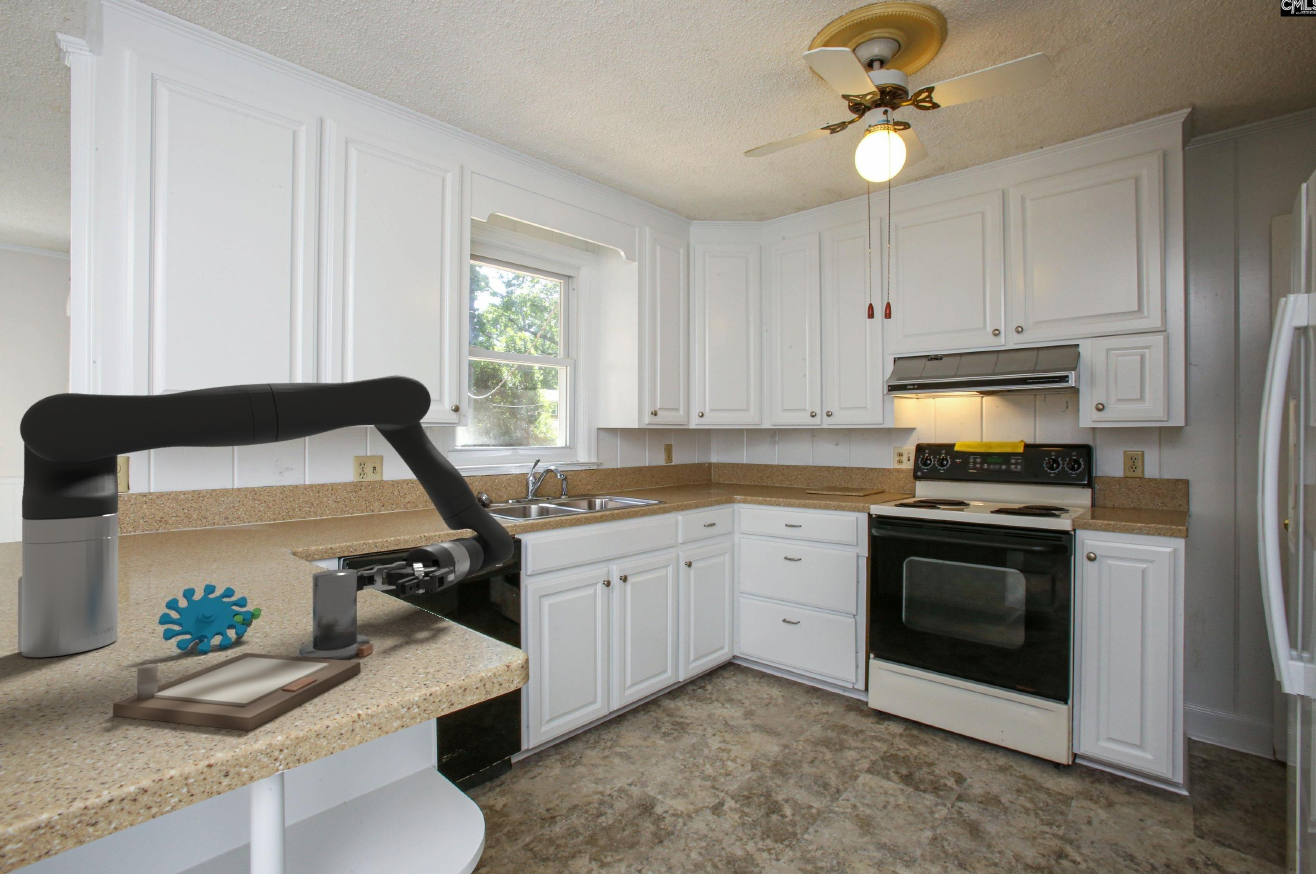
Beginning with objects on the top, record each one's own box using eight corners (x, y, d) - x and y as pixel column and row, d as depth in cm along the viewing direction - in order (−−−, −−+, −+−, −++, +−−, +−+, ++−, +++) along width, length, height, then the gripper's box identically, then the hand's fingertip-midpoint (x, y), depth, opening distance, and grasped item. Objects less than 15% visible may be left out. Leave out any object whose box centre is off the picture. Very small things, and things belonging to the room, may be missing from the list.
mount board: (112, 715, 61) (112, 672, 61) (245, 662, 75) (245, 627, 75) (249, 730, 57) (249, 685, 57) (360, 672, 72) (360, 635, 72)
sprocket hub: (283, 660, 76) (283, 578, 76) (330, 640, 84) (330, 566, 84) (345, 665, 74) (345, 581, 74) (388, 644, 82) (388, 568, 82)
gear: (154, 650, 75) (165, 581, 82) (149, 675, 78) (159, 607, 84) (261, 644, 82) (263, 581, 88) (252, 668, 85) (255, 605, 91)
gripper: (397, 542, 103) (326, 559, 87) (476, 544, 100) (416, 563, 84) (397, 587, 103) (325, 613, 87) (476, 591, 100) (416, 619, 84)
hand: (370, 588), depth 86 cm, fingers open, 8 cm apart
